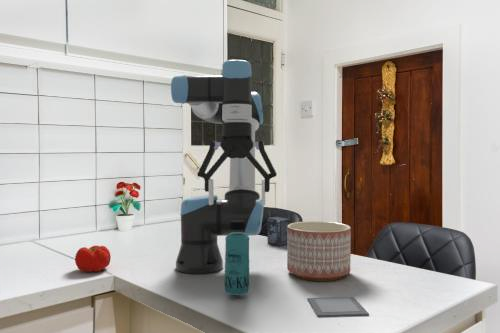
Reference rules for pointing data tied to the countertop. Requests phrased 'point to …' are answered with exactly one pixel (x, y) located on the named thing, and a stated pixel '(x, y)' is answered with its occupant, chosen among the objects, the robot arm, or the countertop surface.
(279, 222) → the box
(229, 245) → the beverage bottle
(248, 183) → the robot arm
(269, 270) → the countertop surface
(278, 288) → the countertop surface
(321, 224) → the planter
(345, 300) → the slate mat
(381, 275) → the countertop surface
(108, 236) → the countertop surface
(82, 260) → the tomato
